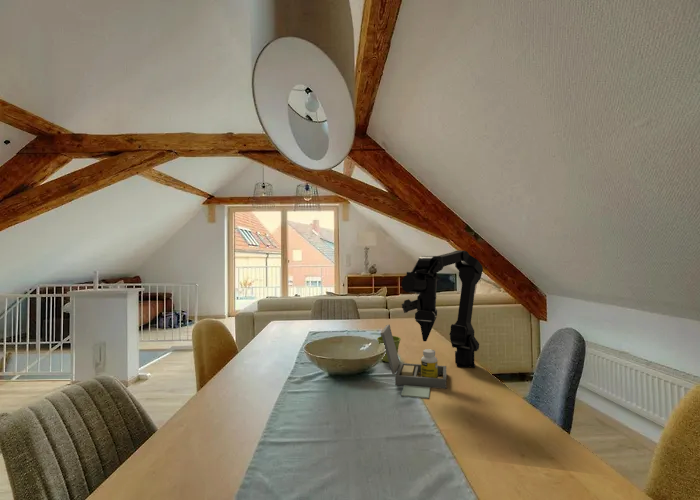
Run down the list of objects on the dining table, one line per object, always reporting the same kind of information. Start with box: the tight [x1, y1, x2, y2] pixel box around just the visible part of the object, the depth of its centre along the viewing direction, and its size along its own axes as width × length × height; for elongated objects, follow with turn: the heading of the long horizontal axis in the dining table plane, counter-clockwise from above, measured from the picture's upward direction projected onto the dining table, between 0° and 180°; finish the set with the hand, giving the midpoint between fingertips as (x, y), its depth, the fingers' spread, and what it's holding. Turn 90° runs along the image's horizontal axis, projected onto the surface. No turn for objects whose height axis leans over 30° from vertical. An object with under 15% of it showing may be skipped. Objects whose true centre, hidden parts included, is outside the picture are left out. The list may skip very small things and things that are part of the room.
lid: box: [380, 324, 401, 375], centre depth 126 cm, size 14×13×1 cm
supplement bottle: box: [420, 348, 439, 378], centre depth 122 cm, size 5×5×10 cm
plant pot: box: [376, 335, 402, 363], centre depth 145 cm, size 9×9×9 cm
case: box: [394, 362, 447, 389], centre depth 123 cm, size 16×14×3 cm
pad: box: [401, 385, 431, 399], centre depth 112 cm, size 8×8×1 cm
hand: (425, 338), depth 123 cm, fingers open, 9 cm apart
